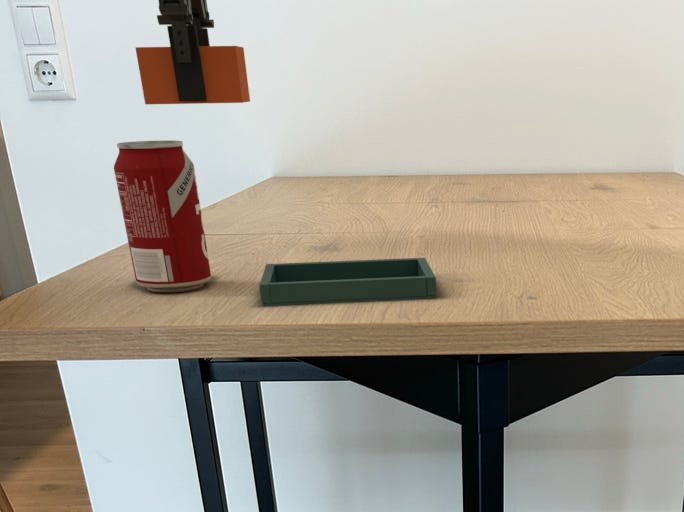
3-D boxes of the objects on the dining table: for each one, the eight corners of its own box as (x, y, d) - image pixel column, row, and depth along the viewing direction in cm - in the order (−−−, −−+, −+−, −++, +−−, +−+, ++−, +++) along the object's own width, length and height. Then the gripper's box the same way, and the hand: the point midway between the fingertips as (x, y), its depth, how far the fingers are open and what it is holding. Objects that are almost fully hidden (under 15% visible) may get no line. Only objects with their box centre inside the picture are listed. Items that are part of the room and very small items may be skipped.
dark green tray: (262, 311, 78) (259, 284, 77) (269, 288, 86) (266, 263, 85) (436, 303, 79) (435, 277, 78) (426, 281, 88) (425, 257, 87)
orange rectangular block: (250, 101, 102) (243, 47, 99) (242, 102, 97) (235, 45, 95) (157, 103, 101) (148, 48, 99) (145, 104, 97) (135, 47, 94)
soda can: (167, 297, 83) (140, 146, 77) (122, 289, 87) (93, 143, 81) (227, 285, 88) (206, 141, 82) (182, 278, 91) (158, 139, 85)
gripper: (139, -165, 95) (180, 99, 107) (86, -213, 79) (141, 103, 91) (213, -165, 95) (247, 98, 107) (175, -213, 79) (219, 101, 91)
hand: (198, 99), depth 99 cm, fingers closed on orange rectangular block, 5 cm apart
